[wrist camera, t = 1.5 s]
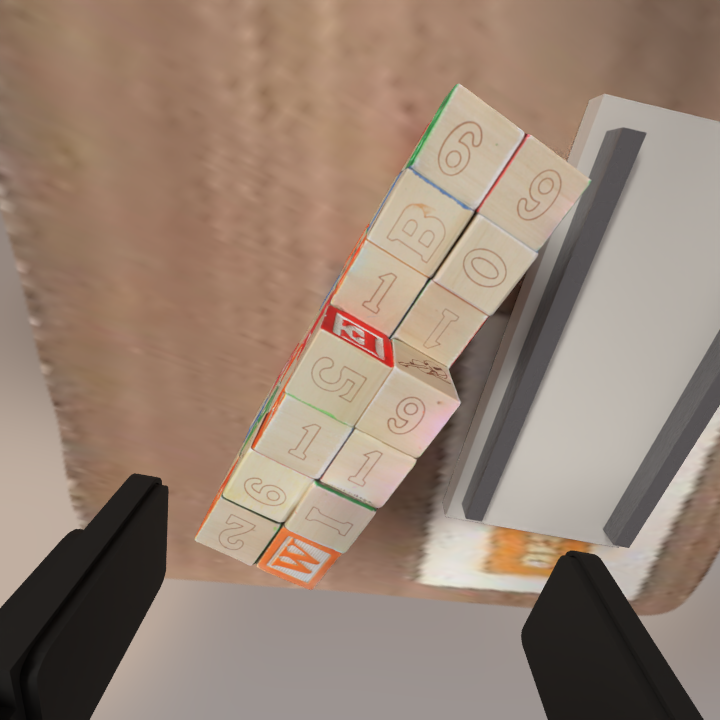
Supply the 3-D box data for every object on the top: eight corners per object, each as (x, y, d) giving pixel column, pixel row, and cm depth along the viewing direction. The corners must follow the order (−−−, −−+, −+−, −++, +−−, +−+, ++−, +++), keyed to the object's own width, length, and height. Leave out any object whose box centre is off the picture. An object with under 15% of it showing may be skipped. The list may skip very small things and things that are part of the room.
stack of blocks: (426, 119, 22) (484, 47, 11) (516, 183, 23) (653, 179, 12) (258, 408, 30) (188, 545, 18) (333, 446, 31) (310, 597, 19)
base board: (589, 99, 21) (621, 86, 19) (831, 158, 22) (896, 153, 19) (442, 502, 32) (449, 532, 30) (608, 532, 33) (629, 563, 30)
